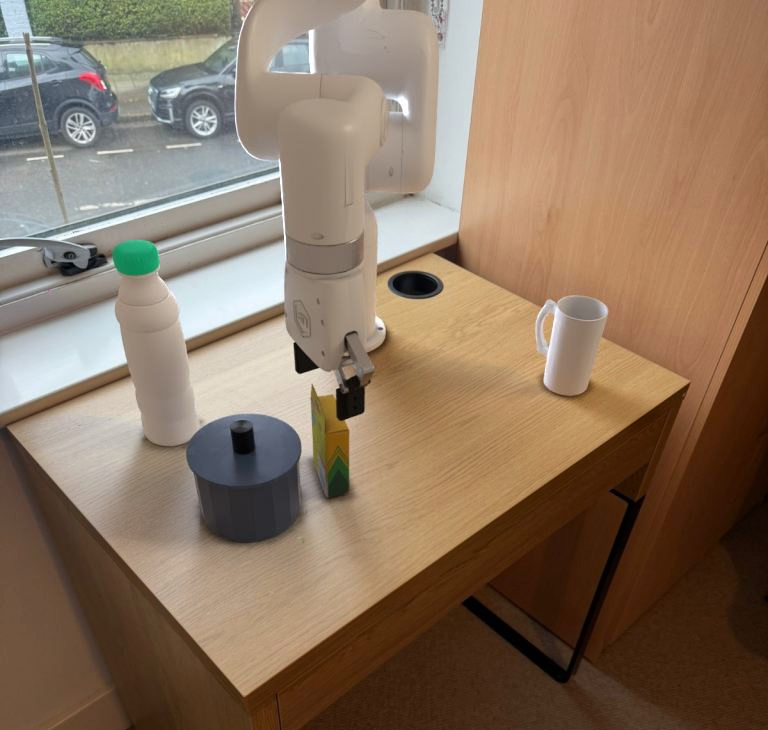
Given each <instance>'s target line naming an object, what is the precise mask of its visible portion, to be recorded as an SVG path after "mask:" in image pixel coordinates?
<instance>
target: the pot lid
mask: <svg viewBox="0 0 768 730" xmlns="http://www.w3.org/2000/svg"><path fill="white" fill-rule="evenodd" d="M301 456H302V441H301V438H300V436H299V433H298V432H297V430H295V428H294V427H292V426H291V425H290V424H288V423H287V422H286V421H284V420H282V419H280V418H277V417H274V416H272V415H268V414H261V413H237V414H230V415H226V416H223V417H220V418H217V419H214V420H212V421H209V423H207V424H205V425H203V426H202V427H200V428H199V430H198V431H197V432H196V433H195V434H194V435H193V436H192V438H191V439H190V441H188V443H187V446H186V450H185V458H186V462H187V466H188V467H189V470H190V471H191V472H192V473H194V474H195V475H196V476H197V477H198V478H199V479H201V480H202V481H204V482H206V483H208V484H211V485H213V486H217V487H221V488H226V489H251V488H257V487H262V486H265V485H268V484H271V483H273V482H275V481H277V480H279V479H281V478H283V477H284V476H286V475H287V474H288V473H289V472H290V471H292V470H293V468H294V467H295V466H296V465H297V463H298V461H299V462H300V459H301ZM194 474H193V475H194Z"/></svg>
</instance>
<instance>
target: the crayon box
mask: <svg viewBox="0 0 768 730" xmlns="http://www.w3.org/2000/svg"><path fill="white" fill-rule="evenodd" d="M317 393H318V392H317V391H316V389H315V386H314V384H313V383H311V387H310V399H309V400H310V412H311V413H310V414H311V415H310V416H311V436H312V463H313V465H314V468H315V470H316V473H317V476H318V480H319V482H320V485H321V487H322V490H323V492H324V496H325V498H326V499H333V498H338V497H342V496H346V495H349V494H350V428H349V426H348V425H347V422H346V420H343V421H339V420H338V419H337V417H336V396H335V395H334V394H333V393H330V394H325V395H319V396H318V394H317Z"/></svg>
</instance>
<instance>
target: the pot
mask: <svg viewBox="0 0 768 730" xmlns="http://www.w3.org/2000/svg"><path fill="white" fill-rule="evenodd" d="M192 473H193V472H192ZM193 478H194V479H193V480H194V483H195V489H196V495H197V499H198V504H199V509H200V514H201V515H202V519H203V522H204V524H205V526H206V527H207V528H208V529H209V530H210V531H211V532H212V533H213V534H214V535H216V536H218V537H220V538H221V539H224V540H226V541H231V542H234V543H245V544H248V543H258V542H259V543H260V542H264V541H267V540H271V539H274V538H276V537H277V536H280V535H282V534H284V533H285V532H286V531H287V530H289V529H290V528H291V527H292V526H293V525H294V524H295V523H296V522H297V519H298V517H299V516H300V513H301V508H302V493H301V491H302V490H301V477H300V460H299V461H298V463H297V465H296V466H295V467H294V468H293V470H292V471H290V472H289V473H288V474H287V475H286V476H284V477H283V478H281V479H279V480H277V481H275V482H273V483H271V484H268V485H265V486H262V487H257V488H251V489H226V488H221V487H217V486H213V485H211V484H208V483H206V482H204V481H202V480H201V479H199V478H198V477H197V476H196V475H195V474H194V473H193Z"/></svg>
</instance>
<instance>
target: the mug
mask: <svg viewBox="0 0 768 730" xmlns="http://www.w3.org/2000/svg"><path fill="white" fill-rule="evenodd" d="M549 314H550V315H553V316H554V319H553V323H552V324H553V325H552V329H551V335H550V340H549V343H548V342H547V341H546V338H545V335H544V323H545V319H546V318H547V317H548V315H549ZM608 316H609V308H608V306H607V305H606V304H605V303H604V302H602V301H601V300H599V299H597V298H594V297H591V296H586V295H575V294H574V295H568V296H563V297H561V298H560V299H559V300H558V301H557V303H556V301H553V300H552V299H551V298H549V299H546V301H545V304H544V306H543V307H542V308H541V309H540V310H539V312H538V314H537V317H536V319H535V320H536V321H535V327H534V328H535V330H534V331H535V340H536V350H537V352H538V354H540V355H542V356H544V357H545V358H546V363H545V369H544V374H543V384H544V386H545V387H546V388H547V389H548V390H549V391H551V392H553V393H554V394H557V395H560V396H568V397H573V396H578V395H581V394H583V393H584V392H585V391H586V390H587V389H588V385H589V383H590V379H591V376H592V373H593V370H594V366H595V362H596V358H597V356H598V355H597V354H598V352H599V349H600V344H601V340H602V337H603V334H604V331H605V326H606V323H607V320H608Z"/></svg>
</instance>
